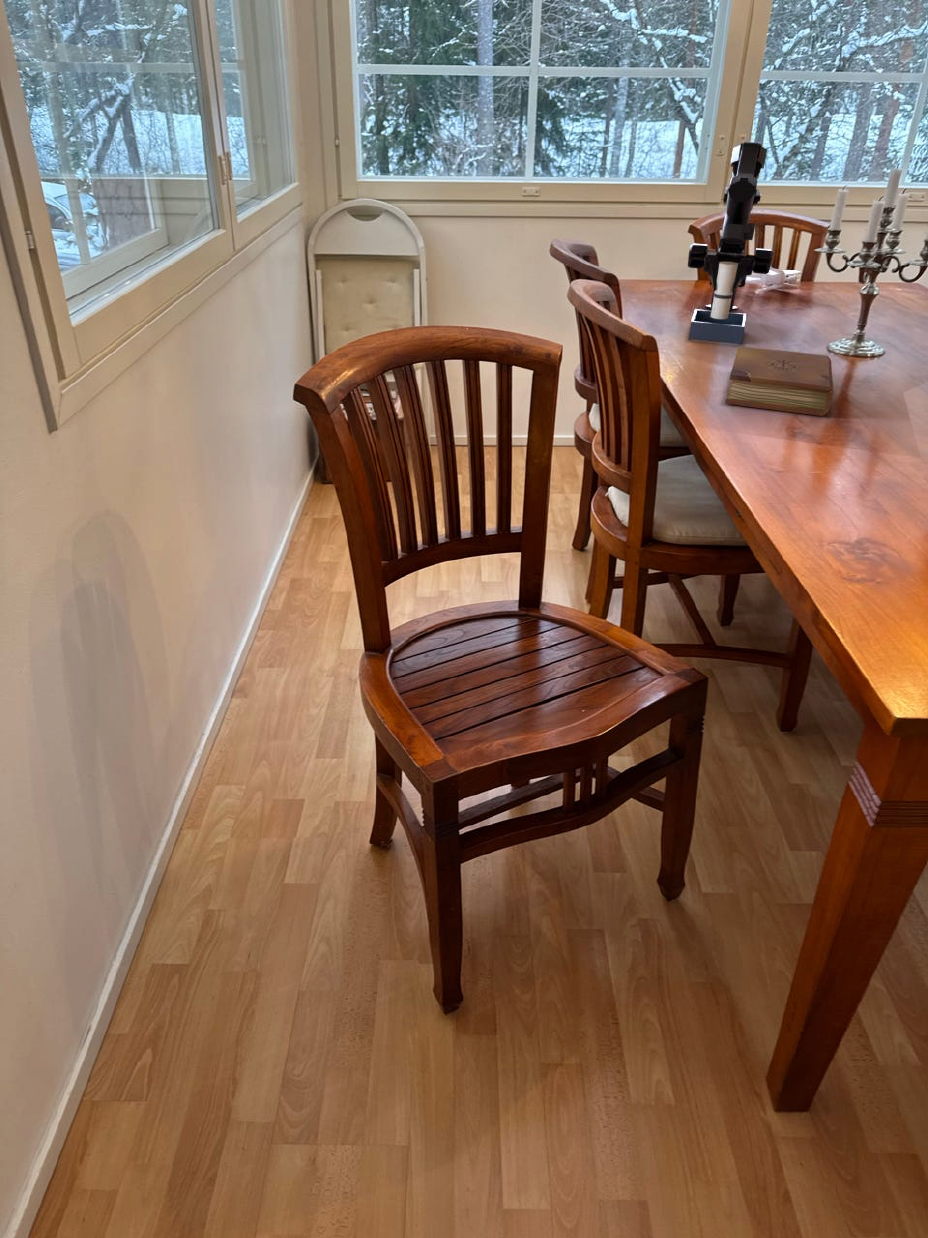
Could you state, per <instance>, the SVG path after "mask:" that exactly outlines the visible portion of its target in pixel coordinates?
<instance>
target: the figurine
mask: <svg viewBox="0 0 928 1238" xmlns="http://www.w3.org/2000/svg"><path fill="white" fill-rule="evenodd" d="M801 274H802V271H800V270H790V269H787V270H782V269H779V268H774V267H772V266H770V270H769V273H767V274H758V273H754V272H752V275H750V276H749V275H747V277H746V282H745V285H748V284H749V285H757V286H758V285H760V286H761V288H760V289H757V290H755V291H754V293H755V294H756V295H759V294H760V293H764V292H769V291H771V290H782V291H783V290H785V291H796V290H798V289H799V288H800V286H799V285H796V284H799V283H800V282H798V279H800V276H798V275H801ZM786 282H787V283H786Z"/></svg>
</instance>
